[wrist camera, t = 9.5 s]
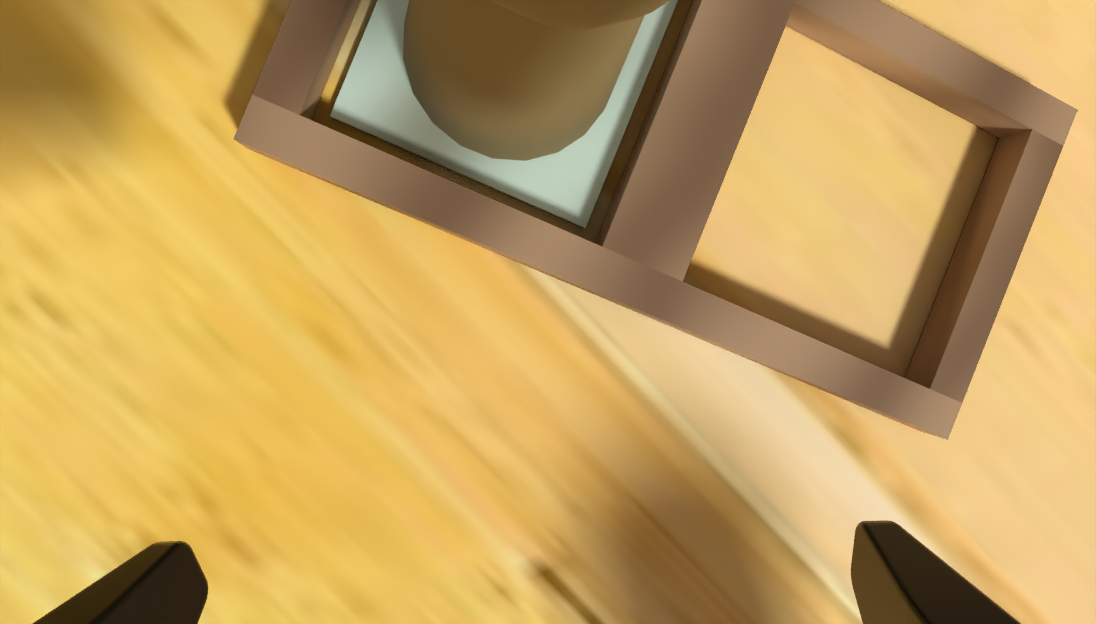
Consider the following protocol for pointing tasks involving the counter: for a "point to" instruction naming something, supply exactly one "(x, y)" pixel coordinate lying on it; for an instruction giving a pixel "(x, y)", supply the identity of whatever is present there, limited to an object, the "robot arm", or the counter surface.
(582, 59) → the cork
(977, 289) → the brown wooden frame
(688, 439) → the counter surface
